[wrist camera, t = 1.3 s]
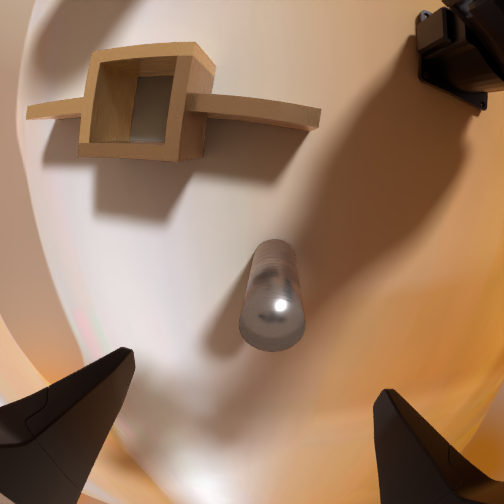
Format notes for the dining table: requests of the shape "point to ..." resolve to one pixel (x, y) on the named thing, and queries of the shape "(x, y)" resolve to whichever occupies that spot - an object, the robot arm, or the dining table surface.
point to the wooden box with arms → (180, 108)
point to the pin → (273, 299)
